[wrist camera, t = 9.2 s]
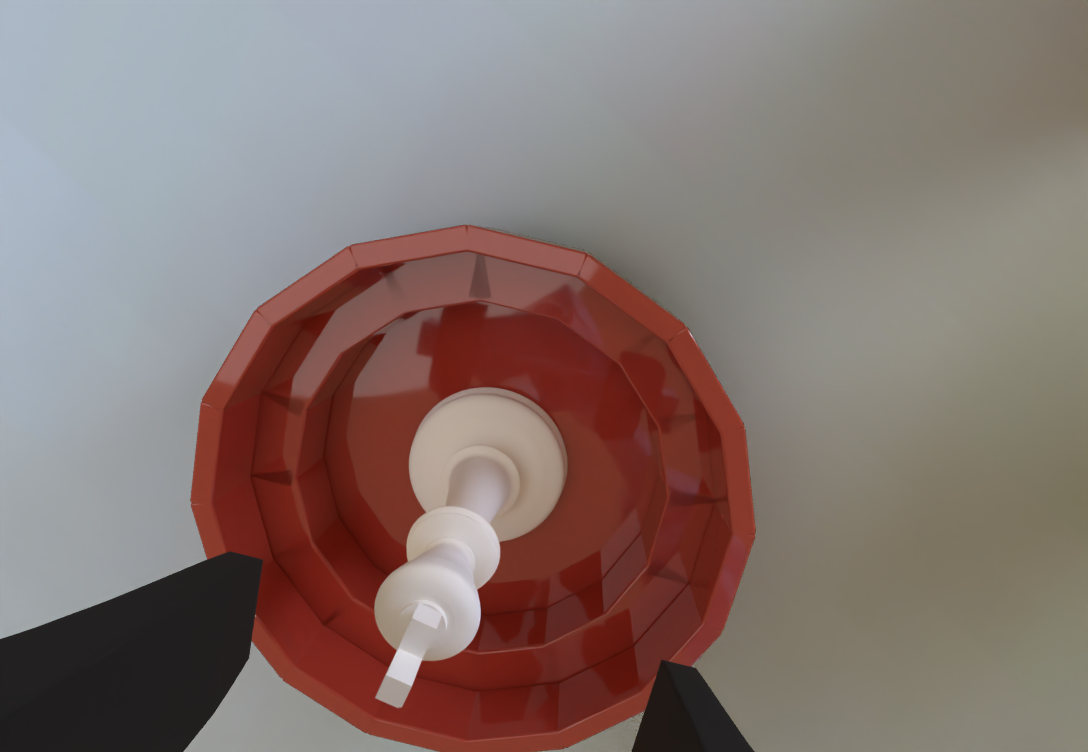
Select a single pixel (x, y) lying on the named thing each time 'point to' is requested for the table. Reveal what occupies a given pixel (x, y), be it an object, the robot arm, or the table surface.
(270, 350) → the bowl
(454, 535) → the chess piece
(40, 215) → the table surface
